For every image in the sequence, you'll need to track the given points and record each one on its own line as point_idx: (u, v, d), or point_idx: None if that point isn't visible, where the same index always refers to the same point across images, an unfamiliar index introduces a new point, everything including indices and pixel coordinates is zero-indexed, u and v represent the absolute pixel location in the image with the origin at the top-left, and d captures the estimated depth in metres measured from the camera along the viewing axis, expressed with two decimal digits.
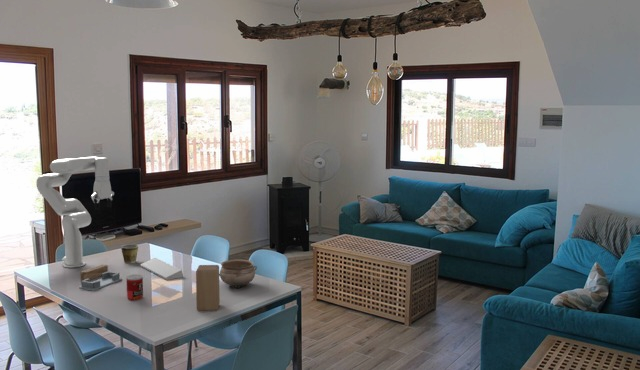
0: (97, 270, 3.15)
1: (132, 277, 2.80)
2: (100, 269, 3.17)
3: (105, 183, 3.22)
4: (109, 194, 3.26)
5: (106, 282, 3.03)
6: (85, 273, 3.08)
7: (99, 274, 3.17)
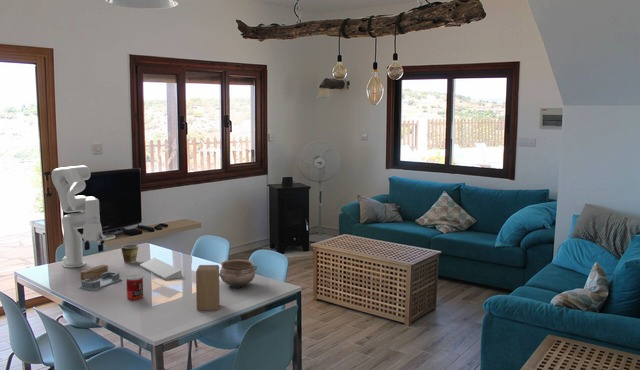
0: (97, 270, 3.15)
1: (132, 277, 2.80)
2: (100, 269, 3.17)
3: None
4: None
5: (106, 282, 3.03)
6: (85, 273, 3.08)
7: (99, 274, 3.17)
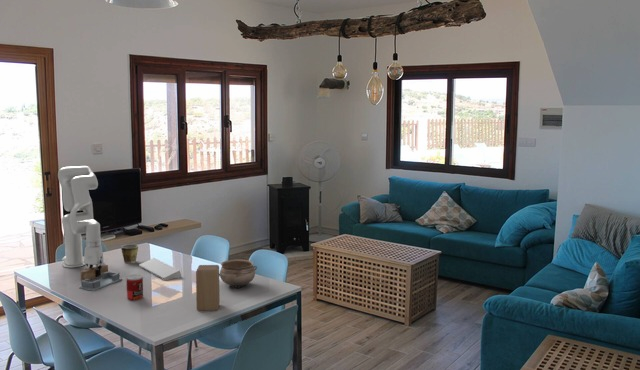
0: None
1: (132, 277, 2.80)
2: (100, 269, 3.17)
3: None
4: None
5: (106, 282, 3.03)
6: (85, 273, 3.08)
7: None
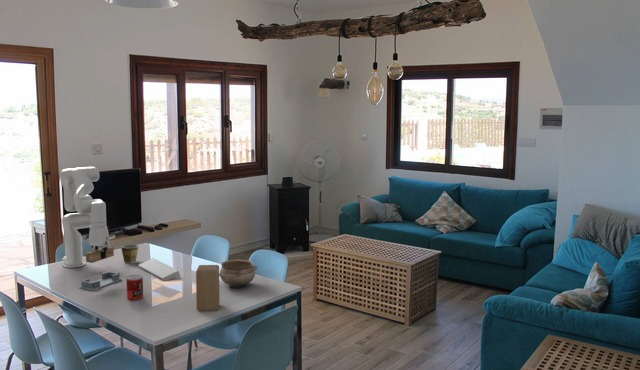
0: None
1: (132, 277, 2.80)
2: (106, 251, 3.02)
3: None
4: None
5: (106, 282, 3.03)
6: (90, 254, 2.93)
7: None
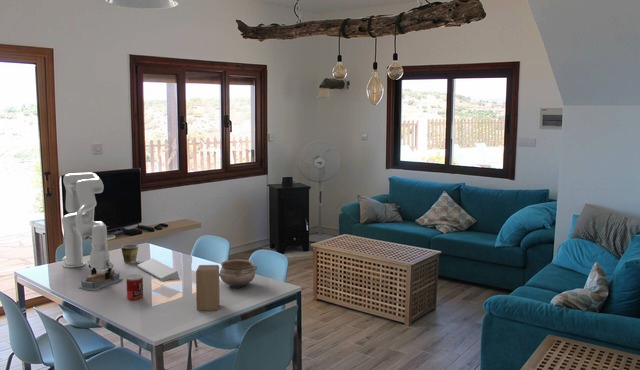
0: (104, 275, 3.02)
1: (132, 277, 2.80)
2: None
3: None
4: None
5: (106, 282, 3.03)
6: (91, 278, 2.95)
7: None
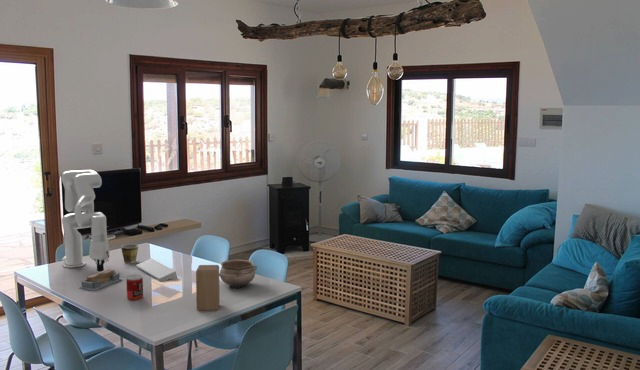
0: (104, 275, 3.02)
1: (132, 277, 2.80)
2: (107, 274, 3.04)
3: None
4: None
5: (106, 282, 3.03)
6: (91, 278, 2.95)
7: (106, 279, 3.04)
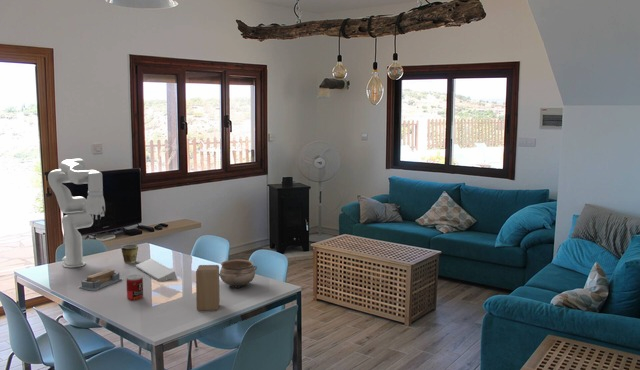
0: (104, 275, 3.02)
1: (132, 277, 2.80)
2: (107, 274, 3.04)
3: None
4: None
5: (106, 282, 3.03)
6: (91, 278, 2.95)
7: (106, 279, 3.04)
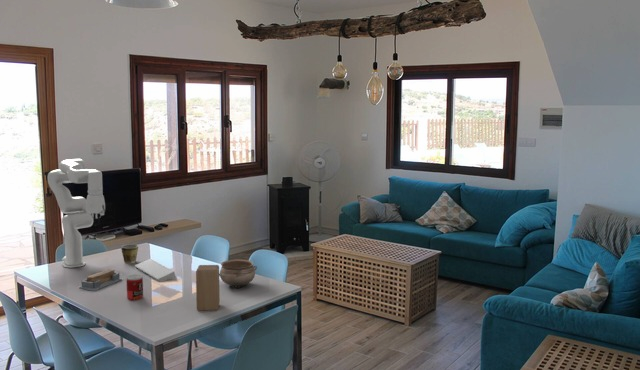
0: (104, 275, 3.02)
1: (132, 277, 2.80)
2: (107, 274, 3.04)
3: None
4: None
5: (106, 282, 3.03)
6: (91, 278, 2.95)
7: (106, 279, 3.04)
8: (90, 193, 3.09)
